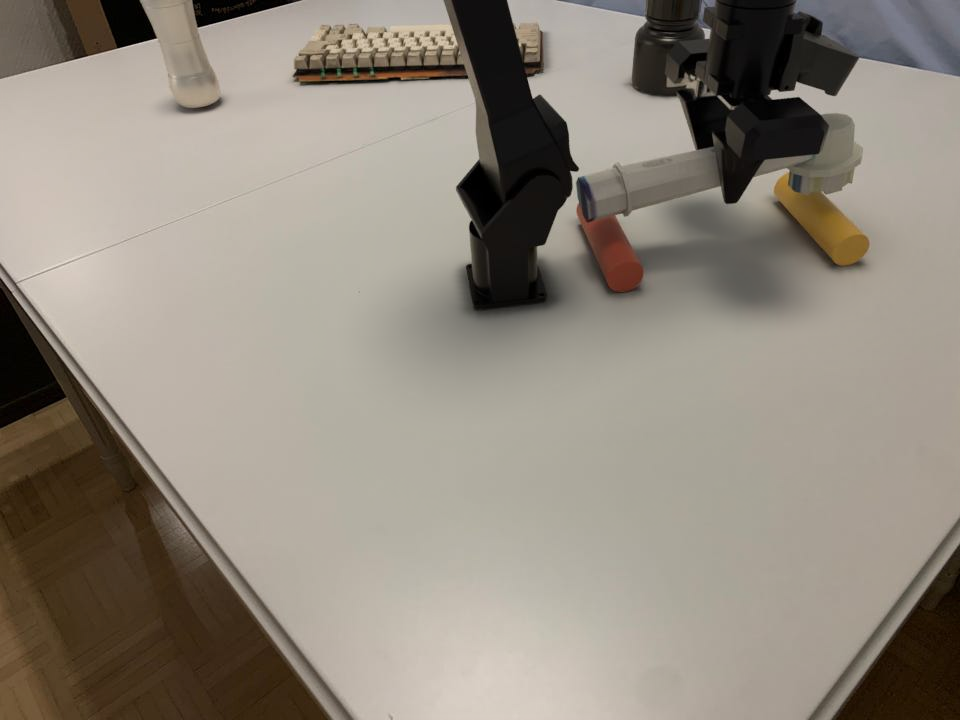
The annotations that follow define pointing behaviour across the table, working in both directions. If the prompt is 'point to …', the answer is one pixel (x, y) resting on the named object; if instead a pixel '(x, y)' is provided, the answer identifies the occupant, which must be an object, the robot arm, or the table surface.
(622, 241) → the rod red
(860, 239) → the rod yellow
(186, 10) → the plastic bottle
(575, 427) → the table surface
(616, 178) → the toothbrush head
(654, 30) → the ink bottle
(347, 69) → the mechanical keyboard
